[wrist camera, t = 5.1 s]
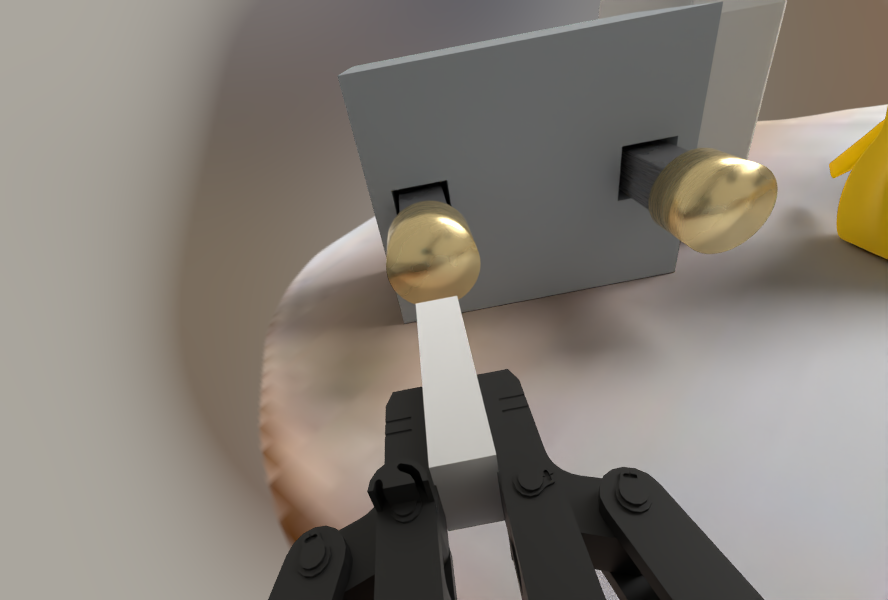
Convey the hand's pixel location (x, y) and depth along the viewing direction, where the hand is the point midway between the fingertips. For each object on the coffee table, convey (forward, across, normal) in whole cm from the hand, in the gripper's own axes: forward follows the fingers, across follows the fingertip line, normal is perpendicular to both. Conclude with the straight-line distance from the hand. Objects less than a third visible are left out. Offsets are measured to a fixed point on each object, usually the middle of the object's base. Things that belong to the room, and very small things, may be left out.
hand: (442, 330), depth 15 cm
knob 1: (+9, 0, -2) cm, 9 cm away
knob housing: (+16, +7, -8) cm, 19 cm away
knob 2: (+9, +14, -2) cm, 17 cm away
